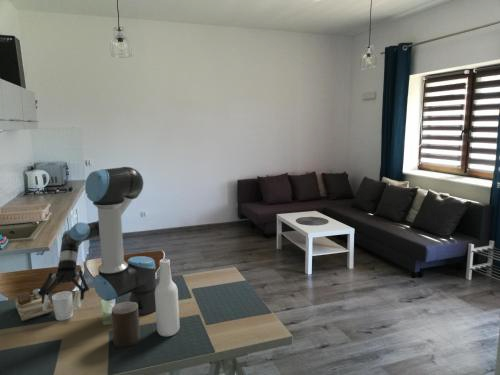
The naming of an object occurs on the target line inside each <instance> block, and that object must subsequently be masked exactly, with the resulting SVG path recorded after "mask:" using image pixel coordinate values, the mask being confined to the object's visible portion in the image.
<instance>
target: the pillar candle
mask: <svg viewBox="0 0 500 375" xmlns="http://www.w3.org/2000/svg"><path fill="white" fill-rule="evenodd" d="M139 316H140V315H138V305H137V303H135V302H128V301H124V302H118V303H116V304H115V305H113V306H112V307H111V322H112V323H111V324H112V337H113V338H112V340H113V345H114V346H115V347H118V348H129V347H132V346H134V345H136V344H137V343H138V342H139V341H140V339H141V332H140V320H139Z"/></svg>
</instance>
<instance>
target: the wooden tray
mask: <svg viewBox="0 0 500 375" xmlns="http://www.w3.org/2000/svg"><path fill="white" fill-rule="evenodd" d="M30 297H31V302H30V303H27V304H24V305H20V304H19V303H18V298H16V299H14V305H15V308H16V310H17V312H18V315H19V317H20V320H21V321H24V322H28V320H30V319H33V318H36V317H39V316H42V315H45V314H46V315H47V314H48V315H50V314H52V313H51V312H54V308H53V302H51V300H50V298H48V305H47V311H46V312H44V311H43V304H42V302H41V301H42V296H41V298H40V299H37V300H34V296H33V294H30Z"/></svg>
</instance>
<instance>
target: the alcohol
mask: <svg viewBox="0 0 500 375" xmlns="http://www.w3.org/2000/svg"><path fill="white" fill-rule="evenodd" d="M170 265H171V260H170V259H169V258H162V259H160V260H159V282H158V283H157V284H156V289H155V304H156V311H155V318H156V319H155V320H156V332H157V333H158V334H159V336H161V337H172V336H174V335H176V334H177V333H178V332H179V331H180V326H181V325H180V312H179V308H180V305H179V292H178V291H179V290H178V286H177V284H176V283H175V282H174V281H173V280H172V278H173V277H172V273H171V266H170Z"/></svg>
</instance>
